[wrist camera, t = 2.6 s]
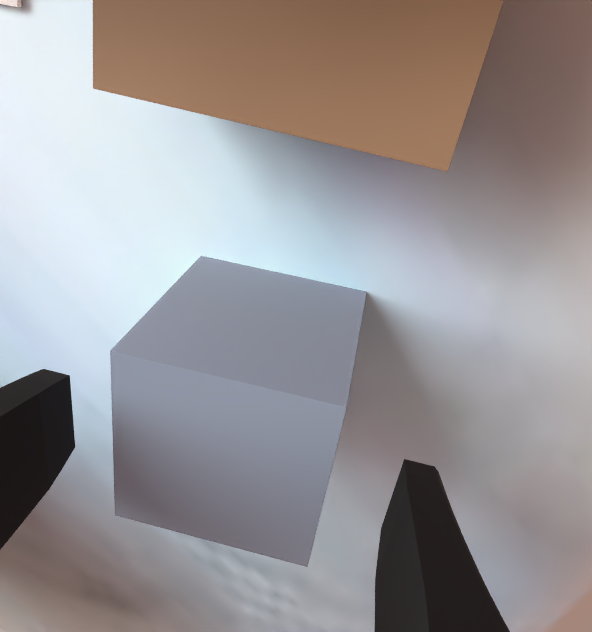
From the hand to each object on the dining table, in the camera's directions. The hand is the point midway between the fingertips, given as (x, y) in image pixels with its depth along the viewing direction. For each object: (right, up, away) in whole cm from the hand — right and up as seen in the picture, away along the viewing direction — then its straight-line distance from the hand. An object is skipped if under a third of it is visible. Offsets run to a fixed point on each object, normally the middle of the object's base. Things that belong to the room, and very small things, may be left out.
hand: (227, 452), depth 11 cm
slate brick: (+1, +2, +4) cm, 5 cm away
